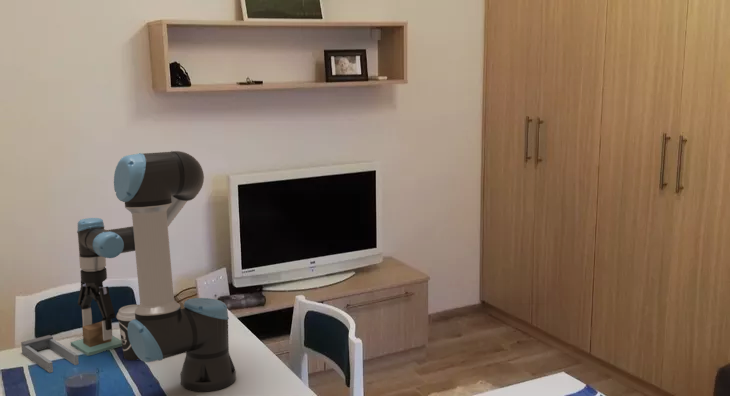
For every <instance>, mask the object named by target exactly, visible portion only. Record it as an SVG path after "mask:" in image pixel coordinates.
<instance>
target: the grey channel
mask: <svg viewBox="0 0 730 396" xmlns="http://www.w3.org/2000/svg"><path fill="white" fill-rule="evenodd" d="M20 345H21V354H22V355H23V356H25V357H26V358H28V359H29V360H31V361H32V362H34V363H35V364H36V365H37V366H39V367H40V368H42V369H43V370H44V371H46V372H48V373H49V374H50V373H53V372H54V366H53V364H54V363H53V361H51V359H49V358H47V357H46V356H44V355H43V354H42V353H40V352H39V351H40V350H45V349H48V348H49V349H50V350H51V351H53V352H54V353H56V354H58V355H59V356H60V357H62V358H63V359H65V360H66V361H68V362H69V363H71V364H73V366H74V365H75V366H78V365H79V363H80V362H79V354H78V353H76V352H75V351H73V350H71V349H69V348H68V347H67V346H65V345H63V344H62V343H60V342H59V341H57V340H56V339H54V337H53V336H52V335H50V334H48V335H44V336H40V337H35V338H32V339H28V340H25V341H21V342H20Z"/></svg>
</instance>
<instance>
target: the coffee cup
mask: <svg viewBox="0 0 730 396" xmlns="http://www.w3.org/2000/svg"><path fill="white" fill-rule="evenodd" d="M139 305H140V304H128V305H124V306H121V307H120V308H119V309H118V312H117V313H116V315H115V319H117V320H118V327H119V333H120V340H121V341H122V346H121V347H122V353H123V358H124V359H125V360H126V359H127V361H138V360H137V359H139V358H138V357H137V355H136V354H135V352H134V351H133V349H132V346H131V344H130V341H129V337H128V331H127V328H128V324H129V322H130V321H132V320H134V319H135V310H136V309H137V307H138V306H139ZM139 360H140V359H139Z"/></svg>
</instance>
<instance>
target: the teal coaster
mask: <svg viewBox="0 0 730 396" xmlns="http://www.w3.org/2000/svg"><path fill="white" fill-rule="evenodd" d="M70 347H73V348H74V349H76V350H78V351H80V352H81V353H82V354H84V355H85V356H88V357H90V356H93V355H96V354H100V353H103V351H104V352H107V351H110V349H111V350H113V349H116V348H121V347H122V341H121V338H118V337H116V336H114V335H113V338H112V339H111V341H110V342H107V343H103V344H99V345H96V346H92V347H89V346H87V345H86V344H84V343H83V338H82V339H81V338H80V339H78V340H74V341H70ZM106 350H107V351H106Z"/></svg>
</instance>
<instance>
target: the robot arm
mask: <svg viewBox="0 0 730 396" xmlns="http://www.w3.org/2000/svg"><path fill="white" fill-rule="evenodd" d="M204 174H205V173H204V171H203V167H202V165H201V163H200V162H199V161H198V160H197V159H196V158H195V157H194V156H192V155H191V154H189V153H188V152H184V151H179V150H175V151H173V150H171V151H163V152H160V151H159V152H146V153H143V152H142V153H141V152H140V153H136V154H128V155H124V156H123V157H121V158H120V160H119V161H118V162H117V165H116V166H115V170H114V175H113V188H114V192H115V196H116V198H117V199H118V200H119V201H120V202H123V203H124V208H125V209H126V210H128V211H129V212H130V213H131V219H132V225H131V226H125V227H120V228H119V227H118V228H113V229H112V228H111V229H105V225H104V220H103V219H102V218H99V217H87V218H82V219H80V220H78V221H77V231H76V233H77V241H78V242H77V244H78V252H79V254H78V257H79V260H78V261H79V269H80V288H79V294H78V300H77V305H78V306H80V307H79V308H80V309H81V317H82V327H83V326H86V325H90V324H93V315H92V308H91V307H92V305H91V304H92V301H93V300H94V302H96V303H97V306H98V309H99V311H100V314H101V316H102V318H101V321H100V322H102V330H103V340H104V341H105V340H109V339H112V338H113V336H114V335H113V322H112V319H116V313H115V310H114V306H113V301H112V299H111V294H110V288H109V286H104V282H105V281H106V280H108V274H107V268H106V266H107V262H106V261H107V259H114V258H117V257H118V256H119V255H120V254H125V253H131V252H135V261H136V262H135V264H136V274H137V284H138V285H137V286H138V294H139V304H138V305H139V306H138V307H137V309H136V310H135V319H134V320H132V321H130V322H129V324H128V328H127V331H128V337H129V341H130V344H131V346H132V349H133V351H134V352H135V354H136V355H137V357H138V358H139V360H141V362H144V363H152V362H156V361H163V360H165V359H167V358H172V357H175V356H178V355H181V354H185V358H184V362H183V365H182V368H181V371H180V384H181V386H182V387H183V388H185V389H186V390H189V391H193V392H213V391H219V390H222V389H225V388H228V387H230V386H231V385H232V384H234V383H235V382H236V378H237V375H236V368H235V364H234V363H233V359H232V357H231V354H230V351H229V350H230V349H229V348H230V347H229V342H230V341H229V320H230V319H229V312H228V306H227V304H226V303H225V302H223V301H222V300H220V299H215V298H211V297H210V298H209V297H195V298H189V299H187V300H185V301H184V302H183V303H184V304H183V308H181V304H180V303H178V302H177V301H176V300H175V298H174V297H175V296H174V287H173V283H174V282H173V274H172V273H173V272H172V271H173V270H172V262H171V261H172V260H171V249H170V240H169V239H170V238H169V226H170V225H171V223H173V221H174V220H175V219H176V217H177V216H178V214H179V213H180V212H181V210H182V209H183V208H184V207H185V205H186V204H187V203H188V202H189V201H192V200H195V198H196V197H197V195H199V193H200V191H201V189H202V188H203V185H204V180H205V176H204Z"/></svg>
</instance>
